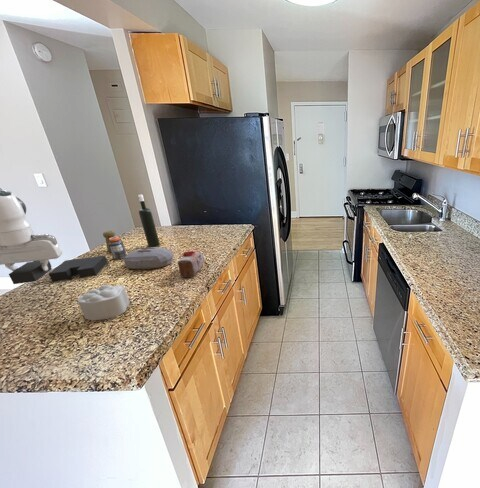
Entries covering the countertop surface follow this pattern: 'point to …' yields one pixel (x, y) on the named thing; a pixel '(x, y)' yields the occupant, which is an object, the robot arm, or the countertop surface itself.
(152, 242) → the wine bottle
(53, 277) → the base pad
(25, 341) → the countertop surface
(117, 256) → the pill bottle
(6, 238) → the robot arm
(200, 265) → the food item
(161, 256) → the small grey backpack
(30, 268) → the pad
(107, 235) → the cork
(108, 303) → the lumpy-topped squat cylinder
